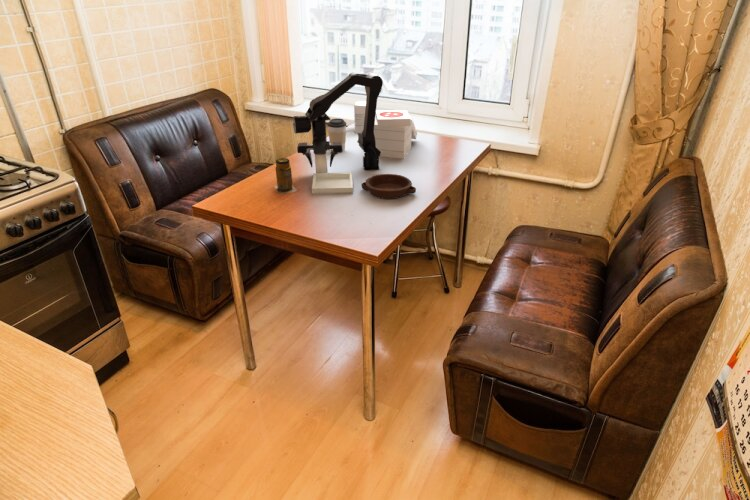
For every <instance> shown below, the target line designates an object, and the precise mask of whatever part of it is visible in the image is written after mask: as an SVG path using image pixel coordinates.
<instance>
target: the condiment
mask: <svg viewBox="0 0 750 500" xmlns="http://www.w3.org/2000/svg"><path fill="white" fill-rule="evenodd" d="M275 176H276V184H277V185H275V186H273V188H274V189H275V190H276V191H277V193H278V194H279V195H281V194H289V193H294V192H298V189H297V188H295V187H294V185H293V176H292V167H291V163H290V159H289V158H287V157H280V158H277V159H276V160H275Z"/></svg>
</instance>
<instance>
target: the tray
mask: <svg viewBox="0 0 750 500" xmlns="http://www.w3.org/2000/svg"><path fill="white" fill-rule="evenodd" d="M311 184H312V185H311V194H312V195H340V194H342V195H345V194H348V195H349V194H354V189H353V188H354V187H353V172H327V173H316V172H314V173H313V177H312V183H311Z"/></svg>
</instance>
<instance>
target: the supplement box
mask: <svg viewBox="0 0 750 500" xmlns="http://www.w3.org/2000/svg"><path fill="white" fill-rule="evenodd" d="M353 108H354V109H353V110H354V112H353V113H354V116H353V117H354V134H358V133H362V131H363V129H364V119H365V108H366V101H362V100H360V101H359V100H357V101H356V102H355V104H354V106H353Z"/></svg>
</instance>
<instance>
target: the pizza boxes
mask: <svg viewBox="0 0 750 500" xmlns="http://www.w3.org/2000/svg"><path fill="white" fill-rule="evenodd" d="M374 136H375V142H376V148H377V149H378V150H379V151H380V152H381V153H380V156H379V157H384V158H391V159H401V158H402V160H405V158H406V156H407V155H408V154H409V152H410V151H411V150H412V140H417V136H418V132H417V129H416V126H415V123H414V121H413V118H411V116H410V114H409V112H408V110H407V109H406V110H376V115H375V124H374ZM410 149H411V150H410ZM409 150H410V151H409ZM407 153H408V154H407Z"/></svg>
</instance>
